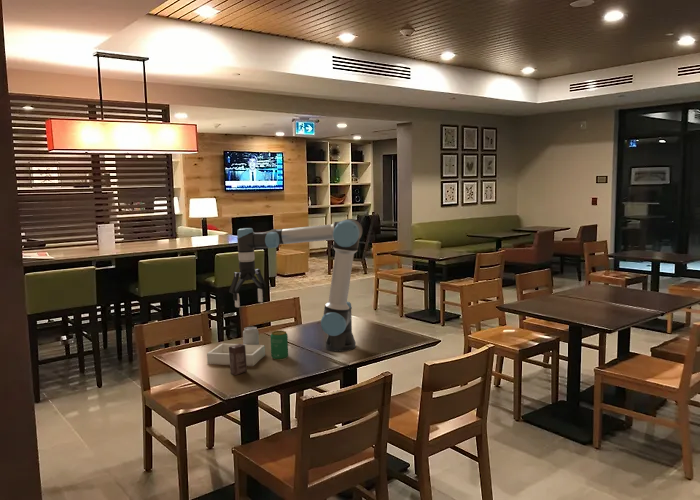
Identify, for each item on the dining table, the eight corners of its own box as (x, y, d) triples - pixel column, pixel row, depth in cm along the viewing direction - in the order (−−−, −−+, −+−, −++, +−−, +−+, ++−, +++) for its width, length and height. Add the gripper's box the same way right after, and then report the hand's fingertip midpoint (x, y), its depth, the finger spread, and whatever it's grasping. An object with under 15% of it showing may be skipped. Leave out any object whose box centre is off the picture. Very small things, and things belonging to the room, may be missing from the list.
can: (255, 354, 271) (255, 330, 269) (241, 353, 272) (240, 329, 271) (261, 349, 278) (260, 326, 277) (247, 349, 280) (246, 325, 278)
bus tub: (265, 355, 269) (264, 345, 268) (252, 366, 253) (252, 355, 253) (222, 353, 273) (221, 343, 273) (207, 363, 258) (207, 353, 257)
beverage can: (291, 355, 267) (290, 331, 266) (282, 360, 260) (281, 335, 259) (277, 354, 271) (276, 329, 269) (267, 358, 264) (267, 333, 262)
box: (240, 369, 249) (239, 343, 247) (247, 371, 246) (246, 344, 244) (229, 373, 244) (228, 346, 243) (236, 375, 241) (234, 348, 240)
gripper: (262, 257, 279) (265, 299, 282) (219, 263, 262) (222, 308, 264) (272, 258, 274) (274, 300, 277) (229, 264, 256) (231, 310, 259)
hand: (249, 304), depth 270 cm, fingers open, 13 cm apart
